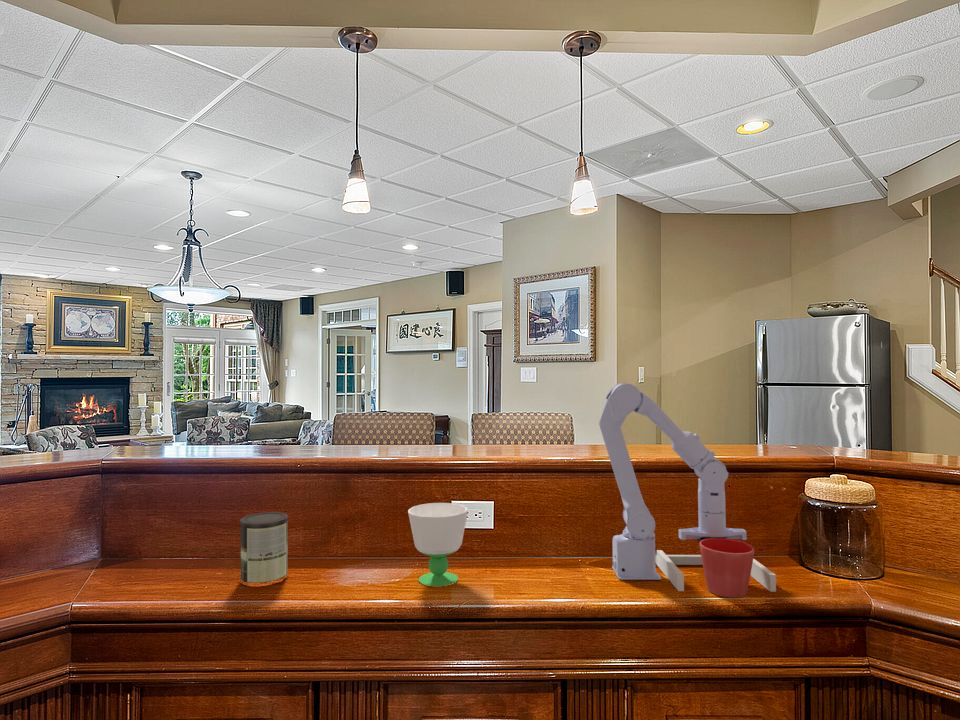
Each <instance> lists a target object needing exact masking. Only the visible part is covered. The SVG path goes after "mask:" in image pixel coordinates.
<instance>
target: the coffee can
mask: <svg viewBox="0 0 960 720" xmlns="http://www.w3.org/2000/svg"><path fill="white" fill-rule="evenodd" d="M288 520H289V515H288V514H287V513H284V512H279V511H265V512H257V513H252V514H248V515H245V516H244V517H242V518H240V519H239V523H240V581H241V580H242V581H244V582H247V583H267V582H271V581H275V580H278V579H281V578H283V577H285V576H286V575H287V574H288V573H289V572H288V562H289V561H288V560H289V559H288V549H289V548H288V546H289V545H288Z"/></svg>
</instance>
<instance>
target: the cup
mask: <svg viewBox="0 0 960 720" xmlns="http://www.w3.org/2000/svg"><path fill="white" fill-rule="evenodd" d="M468 512H469V510H468V507H467V506H464V505H463V504H459V503H452V502H451V503H450V502H430V503H424V504H418V505H414V506H412V507H410V508H409V509H408V510H407V513H408V518H409V519H408V520H409V524H410V528H411V529H410V530H411V533H412V537H413V538H412V539H413V544H414V547H415V548H416V549H417V551H418V552H420V553H421V554H423V555H424V556H428V557H430V558H429V560H428V570H429V571H430V572H428V573H425V574H422V575H421V576H420V577H419V578H418V583H419V582H420V583H419V584H421V583H422V584H424V585H427V586H426V587H428V586H429V585H430V586H445V585H449V584H452V583H455V582H456V581H457V580H458V581H459V576H458V575H457V574H455V573H452V572H447V570H448V569H449V561H448V559H447V556H449V555H452V554H454V553H456V552H457V551H458V550H459V549H460V548H461V546H462V545H463V539H464V534H465V529H466V523H467V518H468ZM458 581H457V582H458ZM457 582H456V583H457ZM456 583H455V584H456ZM422 584H421V585H422ZM424 585H423V586H424ZM452 585H453V584H452ZM445 587H446V586H445Z"/></svg>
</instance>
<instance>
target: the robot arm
mask: <svg viewBox="0 0 960 720" xmlns="http://www.w3.org/2000/svg"><path fill="white" fill-rule="evenodd" d="M603 403H604V404H603V407H602V409H601V410H602V411H601V413H600V416H599V419H598V425H599V429H600V433H601V435H602V438H603V442H604V445H605V448H606V452H607V454H608V459H609V460H610V461H609V462H610V464H611V468H612V472H613V474H614V477H615V481H616V483H617V488H618V490H619V493H620V496H621V501H622V504H623V511H622V518H623V521H624V523H625V525H626V526H625V527H624V529H623V530H622V533H621V534H616V535H613V537H612V543H611V544H612V566H611V569H613V572H614V574H615V575H616V577H617V579H618V580H621V581H622V580H625V581H626V580H627V581H629V580H631V581H633V580H637V581H638V580H640V581H641V580H642V581H647V580H649V581H653V580H654V581H655V580H659V581H660V580H662V577H661V575H660V574H659V573H658V571H657V570H656V566H657V565H656V533H655V531H656V521H655V519H654V516H653V515H652V514H651V512H650V509H649V508H648V507H647V505H646V503H645V501H644V499H643V495H642V492H641V489H640V485H639V482H638V479H637V477H636V474H635V471H634V470H635V469H634V467H633V464H632V459H631V457H630V453H629V451H628V447H627V444H626V441H625V438H624V434H623V432H622V428H621V427H622V425H623V424H624V422H625V421H626V419H627V417H628V416H629V415H630V414H631V413H633V412H635V413H637V414H639V415H643V416H645V417H647V418H648V419H649V420H650V421H651V422H652V423H653V424H654V425H655V426H656V427H657V428H659V430H661V431H662V433H664V434H665V435H666V437H668V438H669V439H670V441H671V450H673V451H674V452H675V453H676V454H677V456H678V457H679V458H680V459H682V460H683V462H684V463H685V464H687V466H688V467H689V468H690V469H692V470H694V473H695V475H696V476H697V477H698V479H697V480H698V481H697V482H698V486H697V487H698V489H697V502H698V503H697V504H698V505H697V507H698V509H697V511H698V512H697V513H698V527H690V528H679V529H678V538H679V539H680V541H681V540H682V541H685V540H697V541H696V542H698V544H699V543H700V541H701V540H704V539H708V538H726V539H732V540H741V541H742V540H744V541H746V540H748V538H747V531H746V530H745V529H744V528H734V527H733V528H731V527H727V526H726V525H727V520H726V518H727V517H726V491H725V483H726V481H727V480H728V478H729V471H728V470H727V467H726V465H725V464H724V462H722V461H720V460H719V459H717V457H716V456H715V455H716V452H715V451H713V450H712V449H711V450H709V448H708V447H706V446H705V445H704V444H703V442H701V437H700V436H699V435H698V434H697V433H692V432H691V431H685V430H684V431H683V430H681V429H680V427H679V426H678V425H677V424H676V423H675V422H674V421H673V420H672V419H671V418H670V417H669V415H667V414H666V413H665V411H663V409H662V408H661V407H660V406H659V405H658V404H657V403H656V402H655V401H654V400H653V399H652V398H650V397H649V396H648V395H647V394H645V393H644V392H643V391H640V390H639V389H638V387H637V386H636V385H634V384H631V383H626V382H620V383H617V384H615V385H614V386H613V387H612V388H611V390H609V392H608V393H607V394H606V396H605V399H604V402H603Z"/></svg>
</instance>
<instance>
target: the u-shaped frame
mask: <svg viewBox="0 0 960 720" xmlns="http://www.w3.org/2000/svg"><path fill="white" fill-rule="evenodd" d="M655 565H656V566H657V567H658V568H659V569H660V570H661V571H662V573H663V574H664V576H665V577H666V578H667V579H668V581H670V582H671V584H672V585H673V586H674V587H675V589H676V590H677V591H678V592H685V576H684V575H685V574H684V573H683V572H682V571H681V569H679V568H678V566H682V565H683V566H684V565H685V566H703V563H702V558H701V554H666V553H665V552H664V551H663V550H661V549H656V554H655ZM750 577H752V578H753V579H754V580H756V581H757V582H758V583H759V584H760V585H762V586H763V587H764V588H765V589H767V590H768V591H769V592H770V593H771V592H773V593H774V592H776V593H777V574H776V573H774V572H773V571H771V570H770V569H769V568H767V567H766V566H764V565H763V564H762V563H760V562H759V561H758V560H756V559H755V558H754V557H753V563H752V569H751V575H750Z"/></svg>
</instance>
